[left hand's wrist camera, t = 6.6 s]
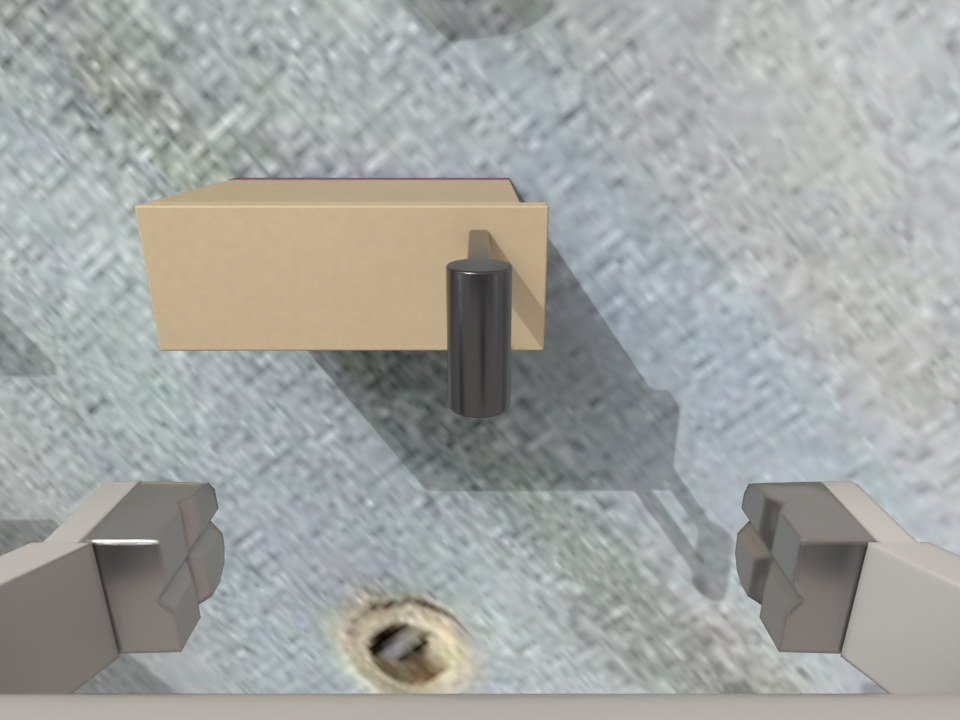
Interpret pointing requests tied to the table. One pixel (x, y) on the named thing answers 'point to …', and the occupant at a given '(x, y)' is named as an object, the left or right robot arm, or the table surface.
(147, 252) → the lid
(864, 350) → the table surface
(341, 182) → the chest
